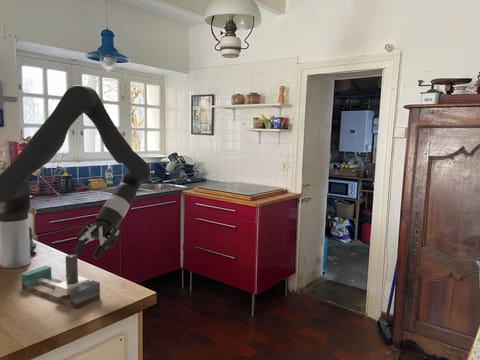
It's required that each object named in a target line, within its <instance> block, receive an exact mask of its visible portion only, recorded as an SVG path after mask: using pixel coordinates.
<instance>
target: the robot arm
mask: <svg viewBox="0 0 480 360" xmlns="http://www.w3.org/2000/svg"><path fill="white" fill-rule="evenodd" d="M83 114H85V116H86V117H87V118H89V120H90V121H91V122H92V124H93V125H94V127H95V128H96V129H97V132H98V134H99V136H100V138H101V142H102V144H103V145H104V146H105V149H106V150H107V151H108V153H109V154H110V156H111V157H112V158H113V160H114V161H115V162H116V163H117V164H119V165H123V166H124V167H125V168H126V169H127V170H126V171H125V173H124V175H123V176H122V178H121V180H120V182H119V184H118V185H117V187H116V188H115V189H114V191H113V192H112V194H111V195H110V196H109V198H108V199H107V200H106V201H105V203H104V204H103V206H102V207H101V209H100V210H99V212H98V213H97V215H96V216H95V222H94V223H92V224H91V223H90V222H89V221H87V222H86V223H85V224H84V225H83V226H82V228H81V230H80V231H79V232H78V234H77V235H76V238H77V239H78V242H77V244H76V245H75V247H74V248H73V252H74V253H75V255H80V254H81V253H82V251H83V249H84V248H85V247H86V244H87V243H89V242H90V241H91V242H93V241H94V240H99V245H97V247H96V249H95V251H94V252H93V254H92V258H94V259H95V260H99V259H100V258H101V256H102V255H103V253H104V251H105V250H107V249H108V248H109V249H113V248H114V246H115V244H116V242H117V240H118V238H119V237H120V234H121V231H120V230H119V229H118V227H119V226H120V224H121V222H122V221H123V219H124V217H125V216H126V214H127V213H128V211H129V208H130V206H131V205H132V203H133V202H134V200H135V198H136V196H137V192H138V190H139V189H140V187H141V185H142V184H144V183H145V182H146V181H147V180H148V179H149V178H150V177H151V168H150V166H149V164H148V163H147V162H146V160H144V159H143V158H142V156H140V155H139V154H138V153H136V152H135V151H134V149H133V148H132V147H131V146H130V144H129V143H128V142H127V140H126V139H125V137H124V136H123V135H122V134H121V132H120V131H119V129H118V128H117V126H116V125H115V123H114V122H113V120H112V118H111V117H110V114H109V113H108V111H107V109H106V108H105V106H104V104H103V101H102V100H101V98H100V95H99V94H98V92H97V91H96V90H95V89H94V88H93V87H90V86H86V85H81V84H80V85H79V84H75V85H72V86H70V87H68V88H67V90H66V91H65V92H64V94H63V95H62V97H61V99H60V100H59V102H58V103H57V105H56V106H55V108H54V109H53V110H52V112H51V114H49V116H48V117H47V119H45V121H44V122H43V123H42V124H41V126H40V127H39V128H38V129H37V130H36V132H35V133H34V134H33V135H32V136H31V138H30V139H29V140H28V141H27V143H26V144H25V146H24V147H23V148H22V149H21V151H20V152H19V153H18V155H16V157H15V158H14V159H13V161H11V163H10V164H9V166H8V167H6V168H5V169H4V170H3V171H2V173H1V174H0V203H4V206H3V208H2V209H0V265H1V268H4V269H16V268H17V269H18V268H23V267H25V266H27V265H29V264H31V262H32V260H31V256H30V240H29V227H30V226H29V212H30V209H31V187H30V183H29V180H28V178H29V177H31V176H32V175H33V174H34V173H36V172H37V171H38V170H39V169H41V168H42V167H44V166H46V165H47V164H48V163H49V162H50V161H51V160H52V159H53V158H54V157H55V156H56V155H57V154H58V152H59V151H60V150H61V148H62V147H63V145H64V143H65V141H66V138H67V134H68V133H69V131H70V128H71V127H72V125H73V124H74V123H75V121H77V119H78V118H80V117H81V116H82V115H83Z"/></svg>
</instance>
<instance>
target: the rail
mask: <svg viewBox="0 0 480 360" xmlns="http://www.w3.org/2000/svg"><path fill="white" fill-rule="evenodd" d="M20 275H21V276H20V277H21V288H22V289H23V290H25V291H27V292H30V293H32V294H36V295H38V296H40V297H43V298H46V299H49V300H51V301H55V302H57V303H60V304H62V305H65V306H68V307H70V308H73V309H76V310H78V309H80V308H83V307H85V306H88V305H89V304H91V303H93V302H95V301H97V300H99V299H101V288H100V287H101V285H100V281H97V280H89V282H87V283H85V284H83V285H80V286H78V287H76V288H73V289H71V290H69V291H70V294H69V295H64V294H61V293H58V292H55V285H56V284H59V283H61V282H64V281H65V280H64V281H63V280H61V279H57V278H54V277H52V267H51V266H48V265H42V266H39V267H37V268H34V269H30V270H28V271H25V272H22V273H21V274H20Z"/></svg>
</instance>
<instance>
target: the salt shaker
mask: <svg viewBox="0 0 480 360" xmlns="http://www.w3.org/2000/svg"><path fill="white" fill-rule="evenodd" d="M33 237H34V235H33V230H32V227H30V226H29V240H30V257H31V256H35V255H36V254H37V252H36V251H35V250H36V248H37V243H36V242H35V243H34V241H33Z"/></svg>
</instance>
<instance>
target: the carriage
mask: <svg viewBox="0 0 480 360" xmlns="http://www.w3.org/2000/svg"><path fill="white" fill-rule="evenodd" d="M64 258H65V276H66V277H65V278H66V280H64V282H61V283H59V284H56V285H55V292H58V293H61V294H64V295H69V294H70V291H69V290H71V289H73V288H76V287H78V286H80V285H83V284H85V283H87V282H90V279H89V278H87V277H83V276H80V275H79V266H78V265H79V264H78V254H68V255H66V256H65V257H64Z"/></svg>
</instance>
